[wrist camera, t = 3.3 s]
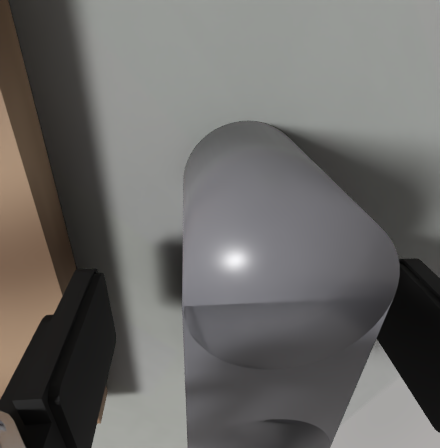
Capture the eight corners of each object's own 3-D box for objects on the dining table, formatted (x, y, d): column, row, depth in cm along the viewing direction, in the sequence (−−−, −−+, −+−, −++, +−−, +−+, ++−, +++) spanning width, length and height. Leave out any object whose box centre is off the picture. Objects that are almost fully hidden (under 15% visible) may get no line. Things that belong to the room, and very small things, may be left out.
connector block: (181, 120, 9) (178, 206, 5) (312, 121, 10) (434, 202, 5) (188, 372, 15) (190, 520, 11) (269, 366, 16) (304, 507, 11)
